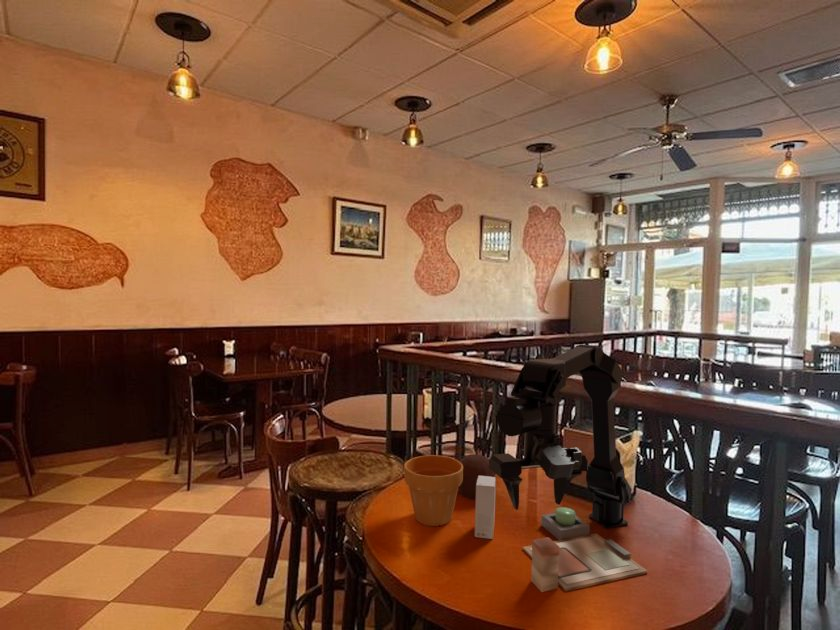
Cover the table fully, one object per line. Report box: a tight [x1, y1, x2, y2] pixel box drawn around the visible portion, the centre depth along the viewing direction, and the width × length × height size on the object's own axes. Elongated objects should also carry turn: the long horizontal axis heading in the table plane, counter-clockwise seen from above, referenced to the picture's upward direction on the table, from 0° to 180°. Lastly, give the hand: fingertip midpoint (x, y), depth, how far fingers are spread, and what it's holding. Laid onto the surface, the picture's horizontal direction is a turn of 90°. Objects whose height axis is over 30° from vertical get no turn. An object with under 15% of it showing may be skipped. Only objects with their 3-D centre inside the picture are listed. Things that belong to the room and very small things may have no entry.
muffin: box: [458, 453, 496, 501], centre depth 130 cm, size 12×11×10 cm
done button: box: [555, 506, 577, 527], centre depth 110 cm, size 4×4×3 cm
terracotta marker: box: [530, 537, 560, 593], centre depth 89 cm, size 4×4×8 cm
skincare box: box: [474, 475, 496, 540], centre depth 108 cm, size 6×4×12 cm
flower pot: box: [403, 454, 463, 527], centre depth 115 cm, size 14×14×13 cm
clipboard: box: [522, 533, 648, 592], centre depth 98 cm, size 19×15×2 cm
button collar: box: [541, 512, 591, 541], centre depth 110 cm, size 8×8×2 cm
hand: (537, 506), depth 92 cm, fingers open, 9 cm apart
